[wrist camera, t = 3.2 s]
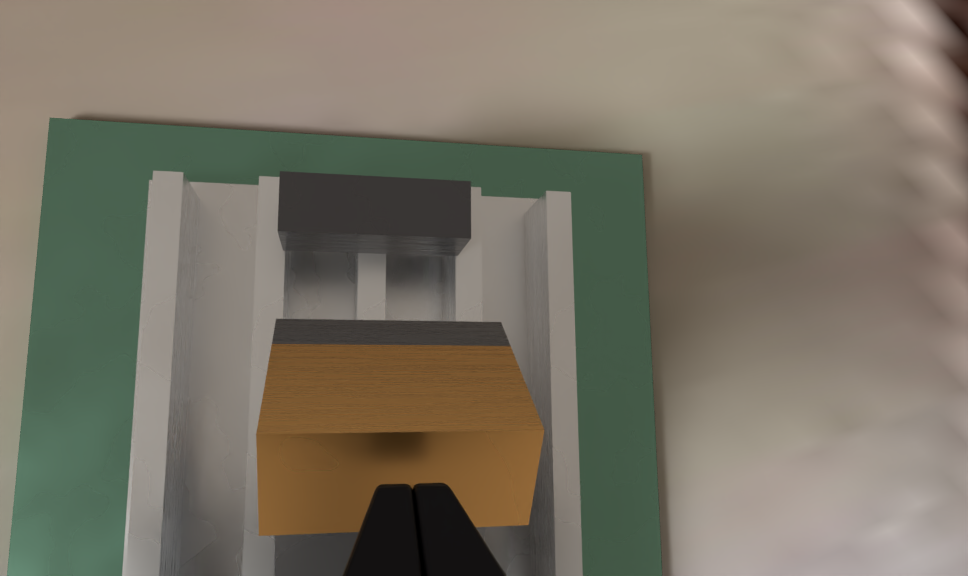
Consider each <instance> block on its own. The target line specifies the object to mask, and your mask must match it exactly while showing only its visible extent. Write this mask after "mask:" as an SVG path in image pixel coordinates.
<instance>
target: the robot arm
mask: <svg viewBox="0 0 968 576" xmlns="http://www.w3.org/2000/svg"><path fill="white" fill-rule="evenodd" d="M342 576H506V574H505V573H504V571H503V569H502V568H501V566H500V565H499V563H498V562H497V560H496V558H495V557H494V555H493V554H492V552H491V551H490V549H489V547H488V546H487V544H486V543H485V541H484V540H483V538H482V536H481V535H480V533H479V532H478V530H477V529H476V527H475V525H474V524H473V522H472V521H471V519H470V518H469V516H468V514H467V513H466V511H465V510H464V508H463V507H462V505H461V504H460V502H459V500H458V499H457V497H456V496H455V494H454V493H453V491H452V490H451V488H450V487H449V486H448V485H447V484H445V483H418V484H415V485H414V486H413V488H411V486H410V485H408V484H381V485H379V486H377V488H376V489H375V491H374V494H373V496H372V499H371V501H370V504H369V507H368V509H367V512H366V515H365V517H364V520H363V522H362V525H361V528H360V530H359V533H358V536H357V538H356V541H355V543H354V546H353V549H352V551H351V554H350V557H349V559H348V562H347V564H346V567H345V570H344V572H343V575H342Z"/></svg>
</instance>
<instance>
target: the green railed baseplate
mask: <svg viewBox="0 0 968 576" xmlns="http://www.w3.org/2000/svg"><path fill="white" fill-rule="evenodd" d="M276 319H335V320H402V321H468V322H501V323H502V326H503V328H504V331H505V333H506V336H507V338H508V341H509V343H510V346H511V348H512V351H513V353H514V356H515V358H516V361H517V363H518V365H519V368H520V370H521V373H522V375H523V378H524V380H525V383H526V385H527V388H528V390H529V393H530V395H531V398H532V400H533V403H534V405H535V408H536V410H537V413H538V415H539V418H540V420H541V423H542V425H543V428H544V436H543V442H542V448H541V454H540V459H539V465H538V471H537V477H536V483H535V489H534V495H533V501H532V507H531V513H530V519H529V525H519V526H494V527H486V529H485V536H484V541H485V543H486V544H487V546H488V547H489V549H490V551H491V552H492V554H493V555H494V557H495V558H496V560H497V562H498V563H499V565H500V566H501V568H502V569H503V571H504V573H505V574H506V576H662V561H661V540H660V519H659V499H658V478H657V457H656V436H655V415H654V395H653V374H652V353H651V332H650V312H649V291H648V270H647V249H646V229H645V208H644V187H643V166H642V155H637V154H621V153H605V152H589V151H573V150H557V149H541V148H525V147H509V146H493V145H477V144H461V143H445V142H429V141H413V140H397V139H381V138H365V137H349V136H333V135H317V134H301V133H285V132H269V131H254V130H238V129H222V128H206V127H190V126H174V125H158V124H142V123H126V122H110V121H94V120H78V119H62V118H50V121H49V132H48V142H47V153H46V164H45V175H44V185H43V196H42V207H41V217H40V228H39V239H38V249H37V260H36V271H35V282H34V292H33V303H32V314H31V324H30V335H29V346H28V356H27V367H26V378H25V388H24V399H23V410H22V421H21V431H20V442H19V453H18V463H17V474H16V485H15V495H14V506H13V517H12V527H11V538H10V549H9V560H8V570H7V576H275V535H269V536H259V521H258V484H257V446H256V432H257V427H258V421H259V415H260V409H261V403H262V398H263V392H264V386H265V380H266V374H267V369H268V363H269V357H270V351H271V345H272V340H273V334H274V328H275V322H276Z"/></svg>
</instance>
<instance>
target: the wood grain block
mask: <svg viewBox="0 0 968 576" xmlns="http://www.w3.org/2000/svg"><path fill="white" fill-rule="evenodd" d="M543 436H544V428H543V425H542V423H541V420H540V418H539V415H538V413H537V410H536V408H535V405H534V403H533V400H532V398H531V395H530V393H529V390H528V388H527V385H526V383H525V380H524V378H523V375H522V373H521V370H520V368H519V365H518V363H517V361H516V358H515V356H514V353H513V351H512V348H511V346H510V343H509V341H508V338H507V336H506V333H505V331H504V328H503V326H502V323H501V322H468V321H402V320H335V319H276V322H275V328H274V334H273V340H272V345H271V351H270V357H269V363H268V369H267V374H266V380H265V386H264V392H263V398H262V403H261V409H260V415H259V421H258V427H257V432H256V446H257V484H258V521H259V536H269V535H275V576H342V575H343V572H344V570H345V567H346V564H347V562H348V559H349V557H350V554H351V551H352V549H353V546H354V543H355V541H356V538H357V536H358V533H359V530H360V528H361V525H362V522H363V520H364V517H365V515H366V512H367V509H368V507H369V504H370V501H371V499H372V496H373V494H374V491H375V489H376V488H377V486H379V485H381V484H408V485H410V486H411V488H413V486H414V485H415V484H418V483H445V484H447V485H448V486H449V487H450V488H451V490H452V491H453V493H454V494H455V496H456V497H457V499H458V500H459V502H460V504H461V505H462V507H463V508H464V510H465V511H466V513H467V514H468V516H469V518H470V519H471V521H472V522H473V524H474V525H475V527H476V529H477V530H478V532H479V533H480V535H481V536H482V538H483V540H484V536H485V529H486V527H494V526H519V525H529V519H530V513H531V507H532V501H533V495H534V489H535V483H536V477H537V471H538V465H539V459H540V454H541V448H542V442H543Z"/></svg>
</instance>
